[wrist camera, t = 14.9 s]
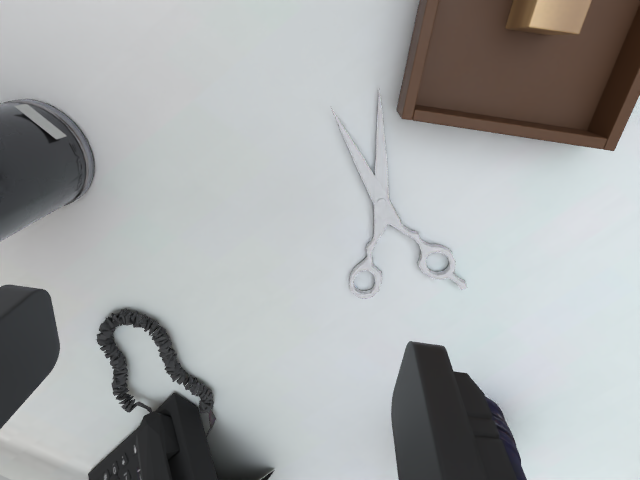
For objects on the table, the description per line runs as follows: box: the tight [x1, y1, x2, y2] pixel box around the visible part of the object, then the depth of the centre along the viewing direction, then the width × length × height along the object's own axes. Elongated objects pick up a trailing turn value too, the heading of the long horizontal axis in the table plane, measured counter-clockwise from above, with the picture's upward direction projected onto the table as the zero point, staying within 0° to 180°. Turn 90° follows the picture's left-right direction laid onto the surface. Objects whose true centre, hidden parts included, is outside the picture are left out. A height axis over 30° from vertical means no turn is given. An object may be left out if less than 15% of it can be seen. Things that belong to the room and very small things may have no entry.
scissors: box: [330, 90, 467, 299], centre depth 37 cm, size 11×1×20 cm
